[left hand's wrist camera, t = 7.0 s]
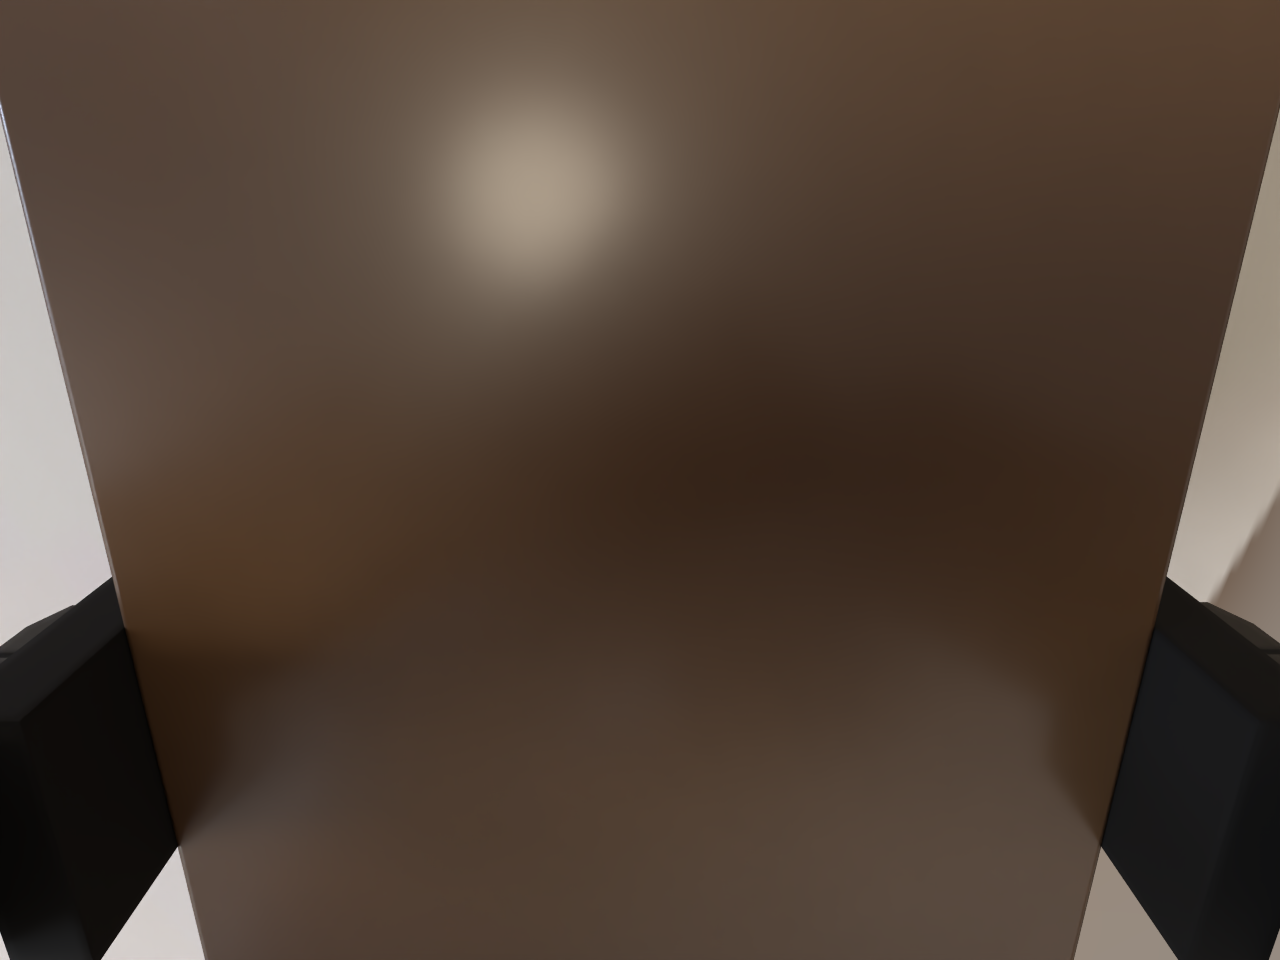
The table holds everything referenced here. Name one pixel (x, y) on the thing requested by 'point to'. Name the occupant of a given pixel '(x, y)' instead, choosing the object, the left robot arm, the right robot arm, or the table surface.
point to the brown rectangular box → (639, 447)
